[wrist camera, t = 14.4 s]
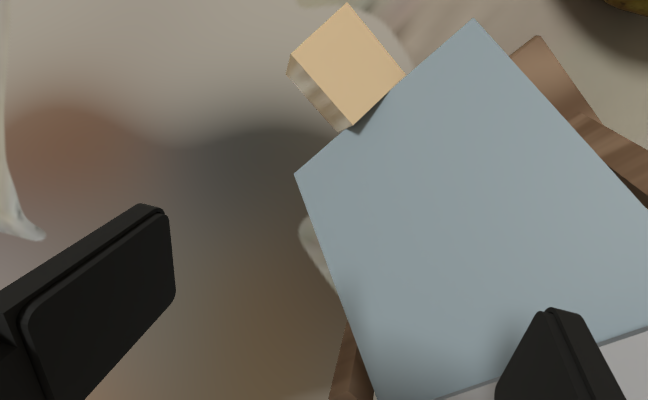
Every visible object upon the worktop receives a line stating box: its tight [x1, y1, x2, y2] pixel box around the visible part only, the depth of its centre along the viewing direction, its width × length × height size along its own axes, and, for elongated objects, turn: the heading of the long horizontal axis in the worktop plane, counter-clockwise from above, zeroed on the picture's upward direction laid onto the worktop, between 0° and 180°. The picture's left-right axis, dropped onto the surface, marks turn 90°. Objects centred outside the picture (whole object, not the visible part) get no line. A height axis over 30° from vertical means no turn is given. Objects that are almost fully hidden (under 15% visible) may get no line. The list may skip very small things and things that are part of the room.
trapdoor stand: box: [329, 36, 648, 400], centre depth 24 cm, size 14×22×17 cm, turn 134°
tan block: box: [286, 3, 406, 132], centre depth 26 cm, size 5×5×6 cm
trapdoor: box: [294, 18, 648, 400], centre depth 20 cm, size 22×16×4 cm
